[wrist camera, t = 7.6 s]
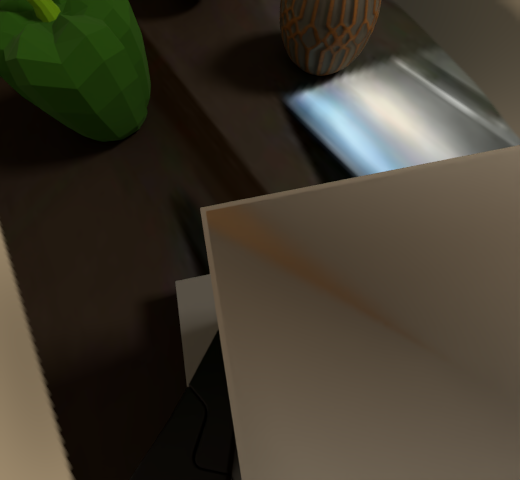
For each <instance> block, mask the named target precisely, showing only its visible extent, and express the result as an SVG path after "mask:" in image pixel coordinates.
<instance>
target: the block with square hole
mask: <svg viewBox="0 0 520 480" xmlns="http://www.w3.org/2000/svg"><path fill="white" fill-rule="evenodd" d="M175 283H176V292H177V301H178V310H179V319H180V328H181V337H182V346H183V355H184V365H185V374H186V383H187V387H189V386H188V385H189V383H190V381H191V379H192V377H193V375H194V373H195V372H196V370H197V368H198V366H199V364H200V362H201V360H202V359H203V357H204V355H205V353H206V351H207V349H208V347H209V345H210V344H211V342H212V340H213V338H214V336H215V334H216V332H217V331H218V329H219V328H218V321H217V315H216V308H215V301H214V295H213V288H212V282H211V275H210V274H209V275H204V276H199V277H194V278H189V279H184V280H180V281H175Z"/></svg>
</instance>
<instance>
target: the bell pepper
mask: <svg viewBox="0 0 520 480" xmlns="http://www.w3.org/2000/svg"><path fill="white" fill-rule="evenodd" d="M0 76H1V77H2V78H3V79H4V80H5V81H6V82H7V83H8V84H9V85H10V86H11V87H12V88H14V89H15V90H16V91H17V92H18V93H19V94H20V95H21V96H22V97H24V98H25V99H27V100H28V101H30V102H31V103H33V104H34V105H36V106H37V107H39V108H40V109H42V110H43V111H44V112H46V113H47V114H49V115H50V116H52V117H53V118H55V119H56V120H58V121H59V122H61V123H62V124H64V125H65V126H67V127H69V128H70V129H72V130H74V131H76V132H77V133H79V134H81V135H82V136H85V137H88V138H91V139H94V140H97V141H102V142H108V141H116V140H123V139H125V138H126V137H128V136H130V135H131V134H133V133H134V132H136V131H138V130H139V128H140V127H141V125H142V124H143V122H144V120H145V119H146V116H147V106H148V103H149V99H150V87H151V83H150V76H149V69H148V63H147V58H146V53H145V48H144V43H143V38H142V34H141V31H140V29H139V26H138V24H137V21H136V18H135V16H134V13H133V11H132V8H131V6H130V3H129V1H128V0H0Z"/></svg>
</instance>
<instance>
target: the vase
mask: <svg viewBox="0 0 520 480" xmlns="http://www.w3.org/2000/svg"><path fill="white" fill-rule="evenodd" d="M380 6H381V0H281V2H280V30H281V36H282V40H283V44H284V47H285V49H286V52H287V54H288V56H289V57H290V59H291V60H292V61H293V62H294V64H295V65H297V66H298V67H299V68H300V69H302V70H303V71H305V72H307V73H309V74H312V75H317V76H324V75H329V74H333V73H335V72H338V71H340V70H342V69H344V68H345V67H346V66H348V65H349V64H351V63H352V62H353V61H354V60H355V59H356V57H357V56H358V55H359V54H360V52H361V51H362V50H363V48H364V47H365V45H366V43H367V42H368V40H369V38H370V36H371V34H372V31H373V29H374V26H375V24H376V21H377V18H378V14H379V10H380Z"/></svg>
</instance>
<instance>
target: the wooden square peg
mask: <svg viewBox="0 0 520 480" xmlns="http://www.w3.org/2000/svg"><path fill="white" fill-rule="evenodd" d="M200 210H201V216H202V223H203V229H204V236H205V243H206V249H207V256H208V262H209V269H210V275H211V282H212V288H213V295H214V301H215V308H216V315H217V321H218V328H219V334H220V341H221V347H222V354H223V360H224V367H225V373H226V380H227V386H228V393H229V400H230V406H231V413H232V419H233V426H234V432H235V439H236V445H237V452H238V458H239V465H240V472H241V478H242V480H520V145H518V146H513V147H508V148H503V149H498V150H493V151H488V152H483V153H477V154H472V155H467V156H462V157H457V158H452V159H447V160H442V161H437V162H432V163H427V164H421V165H416V166H411V167H406V168H401V169H396V170H391V171H386V172H381V173H376V174H371V175H365V176H360V177H355V178H350V179H345V180H340V181H335V182H330V183H325V184H320V185H315V186H309V187H304V188H299V189H294V190H289V191H284V192H279V193H274V194H269V195H264V196H259V197H254V198H248V199H243V200H238V201H233V202H228V203H223V204H218V205H213V206H208V207H203V208H200Z"/></svg>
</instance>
